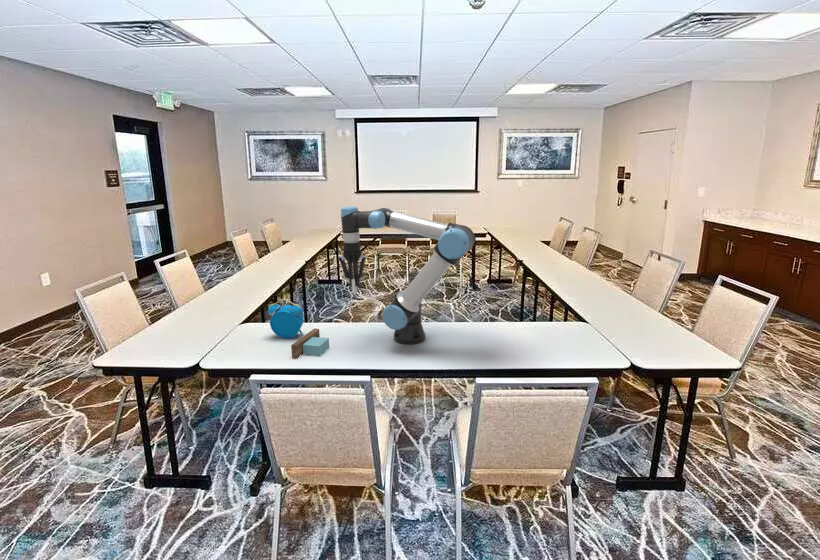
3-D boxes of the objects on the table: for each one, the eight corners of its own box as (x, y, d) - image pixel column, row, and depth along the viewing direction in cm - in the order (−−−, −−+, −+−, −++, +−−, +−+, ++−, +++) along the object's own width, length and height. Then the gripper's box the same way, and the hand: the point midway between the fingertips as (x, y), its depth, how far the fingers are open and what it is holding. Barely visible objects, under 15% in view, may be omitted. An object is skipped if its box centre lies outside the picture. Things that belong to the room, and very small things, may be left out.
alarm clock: (308, 333, 234) (305, 295, 230) (301, 341, 224) (298, 300, 220) (275, 333, 236) (272, 294, 231) (267, 340, 226) (264, 300, 221)
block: (329, 348, 216) (328, 338, 215) (320, 356, 206) (319, 346, 205) (313, 347, 218) (312, 337, 217) (303, 355, 208) (302, 344, 207)
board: (319, 340, 225) (319, 328, 223) (297, 358, 204) (296, 345, 203) (315, 340, 226) (314, 328, 224) (292, 358, 205) (291, 345, 204)
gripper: (367, 240, 213) (370, 290, 218) (340, 240, 215) (344, 290, 221) (362, 242, 205) (366, 295, 211) (334, 243, 208) (338, 294, 213)
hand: (354, 292), depth 216 cm, fingers closed
